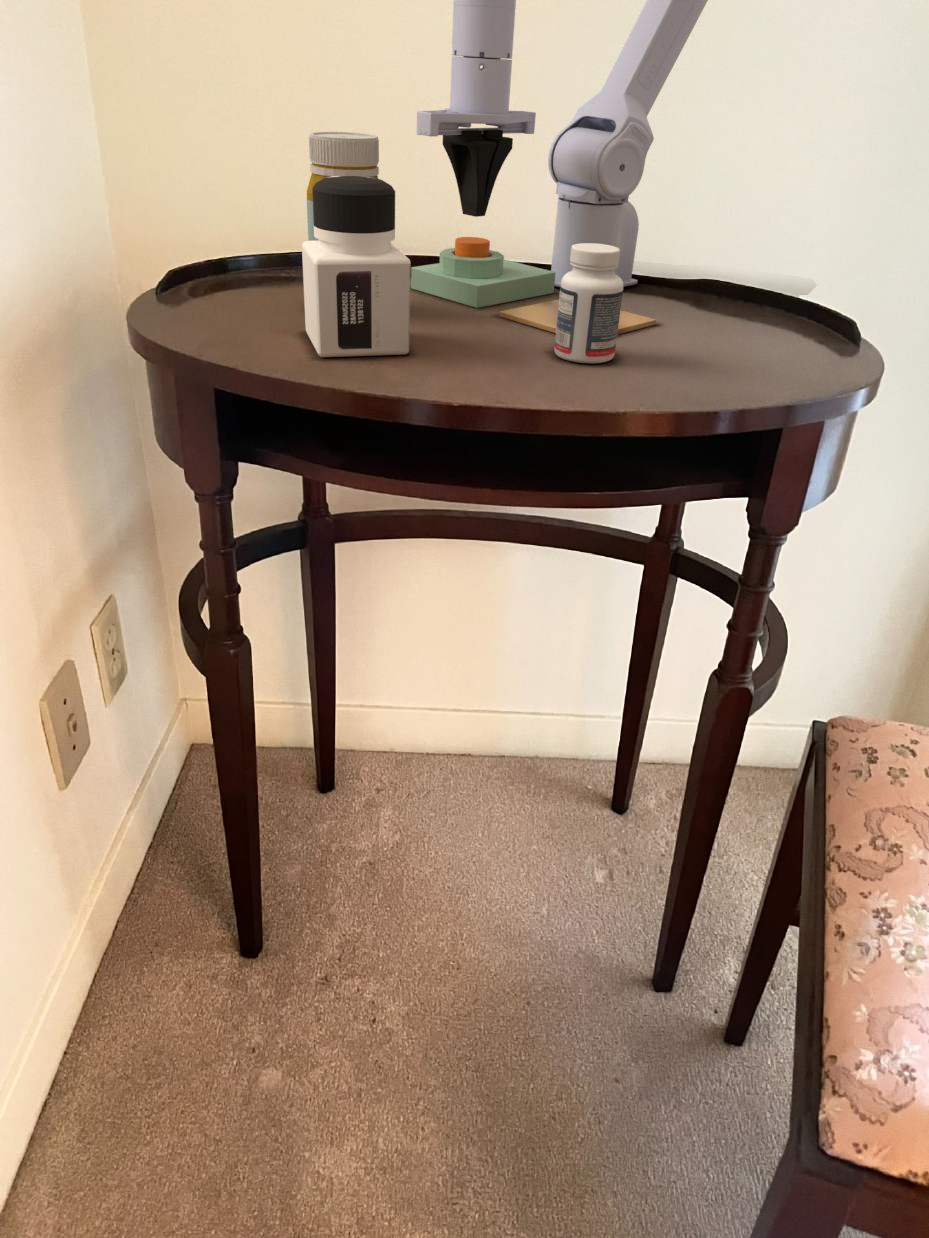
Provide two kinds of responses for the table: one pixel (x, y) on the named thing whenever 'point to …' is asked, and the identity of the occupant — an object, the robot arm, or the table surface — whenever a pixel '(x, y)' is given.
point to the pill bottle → (589, 305)
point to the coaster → (548, 312)
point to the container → (355, 271)
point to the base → (481, 279)
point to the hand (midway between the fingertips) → (473, 215)
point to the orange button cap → (472, 247)
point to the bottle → (339, 161)
